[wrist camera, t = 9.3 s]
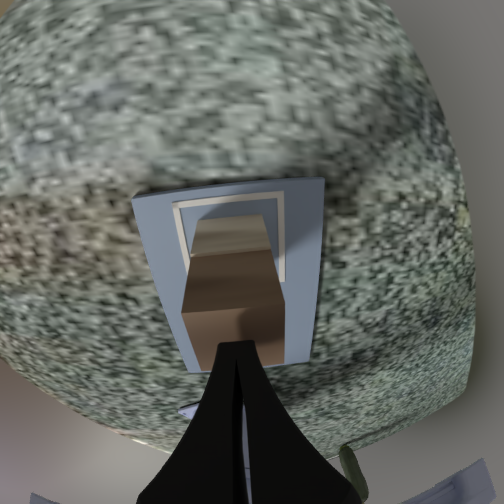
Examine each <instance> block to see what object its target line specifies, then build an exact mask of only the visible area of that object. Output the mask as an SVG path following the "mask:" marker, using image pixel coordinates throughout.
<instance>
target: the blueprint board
mask: <svg viewBox="0 0 504 504" xmlns="http://www.w3.org/2000/svg"><path fill="white" fill-rule="evenodd" d="M324 183H325V179H324V178H323V177H300V178H283V179H269V180H256V181H245V182H234V183H224V184H215V185H207V186H198V187H191V188H183V189H176V190H169V191H162V192H155V193H149V194H143V195H137V196H134V197H133V198H132V199H131V201H132V205H133V209H134V213H135V217H136V221H137V225H138V229H139V232H140V236H141V240H142V243H143V247H144V250H145V254H146V257H147V260H148V264H149V267H150V270H151V273H152V276H153V279H154V282H155V285H156V288H157V291H158V294H159V297H160V300H161V303H162V306H163V309H164V311H165V314H166V317H167V320H168V322H169V325H170V328H171V330H172V333H173V335H174V338H175V340H176V343H177V345H178V348H179V350H180V353H181V355H182V358H183V360H184V362H185V365H186V367H187V369H188V372H189V373H197V372H211V371H201V369H200V366H199V363H198V361H197V358H196V355H195V353H194V350H193V347H192V344H191V342H190V339H189V336H188V333H187V330H186V327H185V324H184V321H183V318H182V315H181V310H182V304H183V298H184V292H185V286H186V281H187V275H188V270H189V265H190V260H191V255H190V253H191V248H192V243H193V239H194V234H195V230H196V225H197V221H198V220H205V219H214V218H224V217H234V216H244V215H254V214H262V216H263V220H264V224H265V227H266V231H267V234H268V238H269V241H270V245H271V251H272V255H273V259H274V262H275V266H276V270H277V274H278V277H279V281H280V285H281V289H282V292H283V296H284V300H285V356H284V364H277V365H270V366H262V367H271V366H279V365H286V364H293V363H300V362H306V361H309V357H310V350H311V343H312V335H313V327H314V319H315V311H316V302H317V292H318V282H319V271H320V259H321V245H322V229H323V210H324Z"/></svg>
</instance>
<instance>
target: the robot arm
mask: <svg viewBox="0 0 504 504" xmlns="http://www.w3.org/2000/svg"><path fill="white" fill-rule="evenodd" d="M243 399H244V405H243ZM178 413H180V414H182V415H184V416H186V417H188V418H190V419H192V420H191V422H190V424H189V426H188V428H187V430H186V432H185V434H184V435H183V437H182V439H181V440H180V442H179V444H178V445H177V447H176V449H175V450H174V452H173V453H172V455H171V456H170V458H169V459H168V460H167V462H166V463H165V464H164V466H163V467H162V469H161V470H160V471H159V472H158V474H157V475H156V476H155V478H154V479H153V480H152V481H151V482H150V483H149V485H147V487H146V488H145V489H144V490H143V491H142V492H141V493H140V494H139V496H138V499H137V502H136V504H362V500H361V498H360V496H359V494H358V492H357V491H356V489H355V488H354V486H353V485H352V484H351V482H350V481H349V480H347V479H346V478H345V477H344V476H343V475H341V474H340V473H339V472H338V471H337V470H336V469H335V468H334V467H333V466H332V465H331V464H329V462H328V461H327V460H326V459H325V458H324V457H323V456H322V455H321V454H320V453H319V452H318V451H317V450H316V449H315V448H314V446H313V445H312V444H311V443H310V442H309V441H308V440H307V438H306V437H305V436H304V435H303V433H302V432H301V431H300V430H299V428H298V427H297V426H296V424H295V423H294V421H293V420H292V419H291V417H290V416H289V414H288V413H287V411H286V410H285V408H284V407H283V405H282V403H281V402H280V400H279V398H278V397H277V395H276V393H275V391H274V390H273V388H272V386H271V384H270V382H269V380H268V378H267V376H266V374H265V371H264V369H263V367H262V364H261V362H260V359H259V356H258V353H257V350H256V346H255V341H253V340H243V341H232V342H220V343H219V344H218V345H217V351H216V356H215V360H214V364H213V367H212V371H211V374H210V377H209V380H208V382H207V385H206V388H205V391H204V393H203V396H202V398H201V401H200V403H197V404H194V405H191V406H187V407H184V408H181V409H178ZM495 498H496V494H495V490H494V487H493V484H492V481H491V478H490V475H489V472H488V469H487V467H486V464H485V461H484V459H483V458H481V459H479V460H477V461H476V462H474V463H473V464H471V465H470V466H468V467H466V468H465V469H463V470H460V471H458V472H456V473H455V474H453V475H451V476H449V477H448V478H446V479H444V480H443V481H441V482H439V483H437V484H436V485H435V486H434V487H432V488H430V489H429V490H427V491H425V492H423V493H421V494H419V495H417V496H415V497H412V498H410V499H408V500H406V501H404V502H402V503H399V504H489V503H491V502H492V501H493V500H494V499H495ZM30 504H59V503H57V502H53V501H51V500H48V499H46V498H44V497H41V496H39V495H37V494H35V493H31V497H30Z"/></svg>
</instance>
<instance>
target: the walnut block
mask: <svg viewBox="0 0 504 504" xmlns="http://www.w3.org/2000/svg"><path fill="white" fill-rule="evenodd" d="M181 315H182V318H183V321H184V324H185V327H186V330H187V333H188V336H189V339H190V342H191V344H192V347H193V350H194V353H195V355H196V358H197V361H198V363H199V366H200V369H201V371H212V367H213V364H214V360H215V356H216V351H217V345H218V344H219V343H220V342H232V341H243V340H253V341H255V346H256V350H257V353H258V356H259V359H260V362H261V364H262V366H270V365H277V364H284V356H285V300H284V296H283V292H282V289H281V285H280V281H279V277H278V274H277V270H276V266H275V262H274V259H273V255H272V251H271V249H269V250H259V251H249V252H240V253H230V254H220V255H211V256H201V257H191V260H190V265H189V270H188V275H187V281H186V286H185V292H184V298H183V304H182V310H181Z"/></svg>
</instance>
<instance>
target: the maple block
mask: <svg viewBox="0 0 504 504" xmlns="http://www.w3.org/2000/svg"><path fill="white" fill-rule="evenodd" d="M269 249H271V245H270V241H269V238H268V234H267V231H266V227H265V224H264V220H263V216H262V214H254V215H244V216H234V217H224V218H214V219H205V220H198V221H197V225H196V230H195V234H194V239H193V243H192V248H191V253H190V255H191V257H201V256H211V255H220V254H230V253H240V252H249V251H259V250H269Z"/></svg>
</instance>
